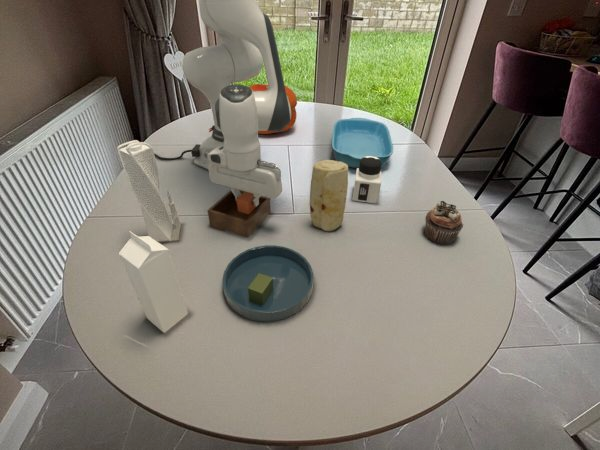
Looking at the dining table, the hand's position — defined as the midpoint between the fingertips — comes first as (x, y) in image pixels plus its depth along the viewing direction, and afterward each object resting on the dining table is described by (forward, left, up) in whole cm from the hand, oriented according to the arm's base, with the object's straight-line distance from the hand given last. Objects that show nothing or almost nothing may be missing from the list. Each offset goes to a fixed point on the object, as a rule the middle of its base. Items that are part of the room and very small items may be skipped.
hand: (247, 202), depth 91 cm
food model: (+20, +8, -7) cm, 23 cm away
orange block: (0, 0, -2) cm, 2 cm away
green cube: (+16, -22, -6) cm, 28 cm away
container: (+26, +28, -7) cm, 39 cm away
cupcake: (+50, +18, -7) cm, 54 cm away
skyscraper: (-18, -15, -7) cm, 24 cm away
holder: (-3, 0, -7) cm, 7 cm away
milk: (+1, -35, -7) cm, 36 cm away
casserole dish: (+16, +58, -7) cm, 60 cm away
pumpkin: (-26, +62, -7) cm, 67 cm away
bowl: (+16, -18, -7) cm, 26 cm away
